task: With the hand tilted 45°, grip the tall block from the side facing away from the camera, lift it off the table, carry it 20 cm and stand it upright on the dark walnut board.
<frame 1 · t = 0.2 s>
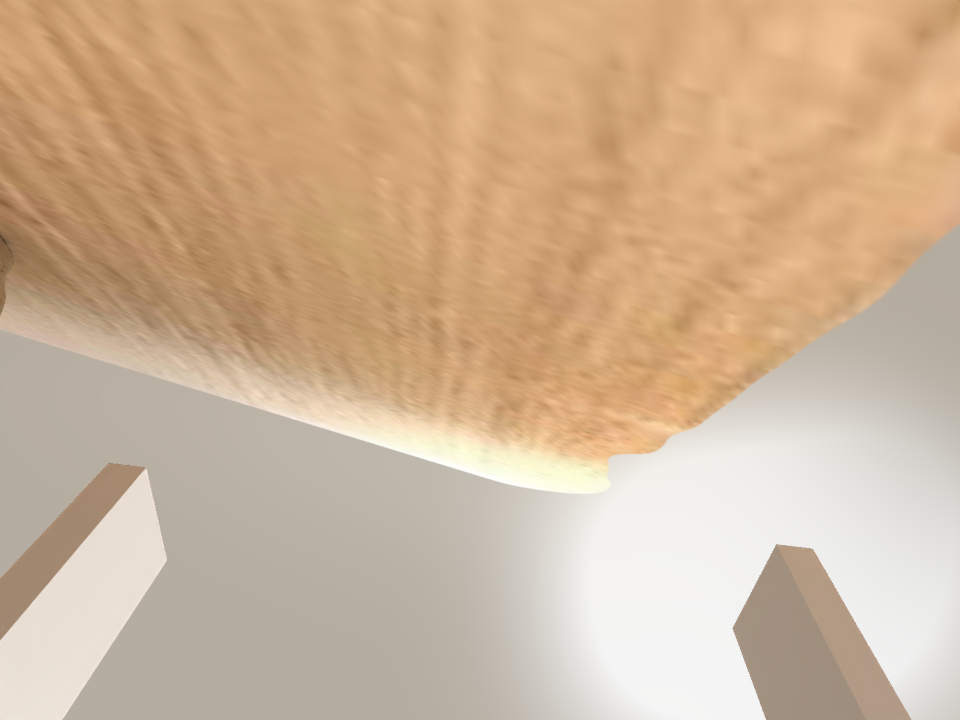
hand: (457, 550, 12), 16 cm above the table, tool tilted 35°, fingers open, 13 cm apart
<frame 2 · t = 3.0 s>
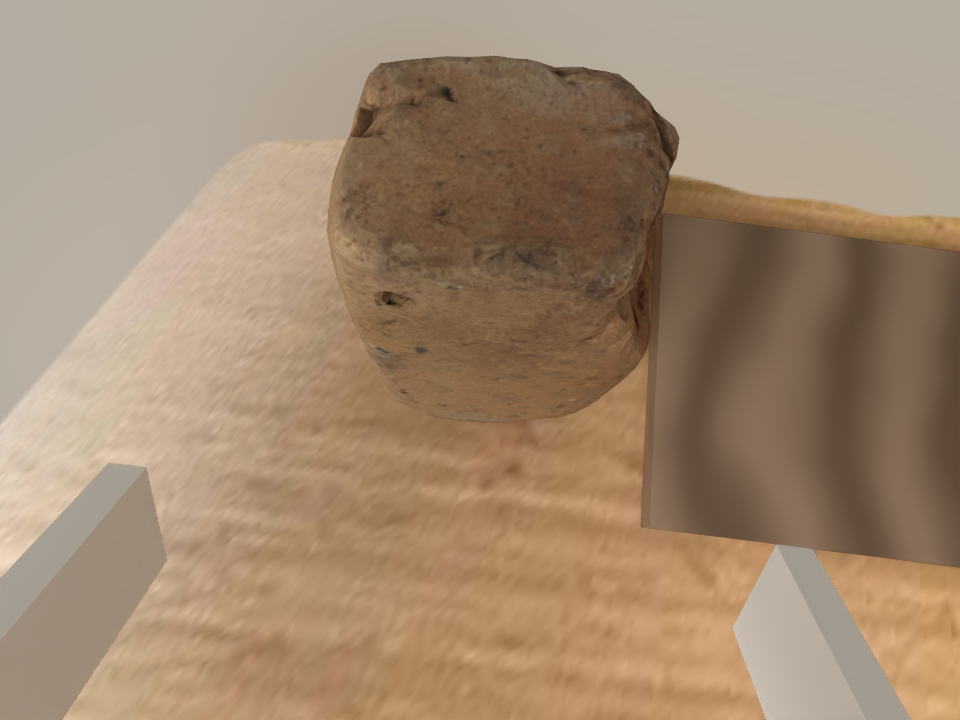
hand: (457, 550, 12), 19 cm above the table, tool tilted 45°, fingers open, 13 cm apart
block: (491, 363, 33), on the table
walnut board: (837, 389, 33), on the table
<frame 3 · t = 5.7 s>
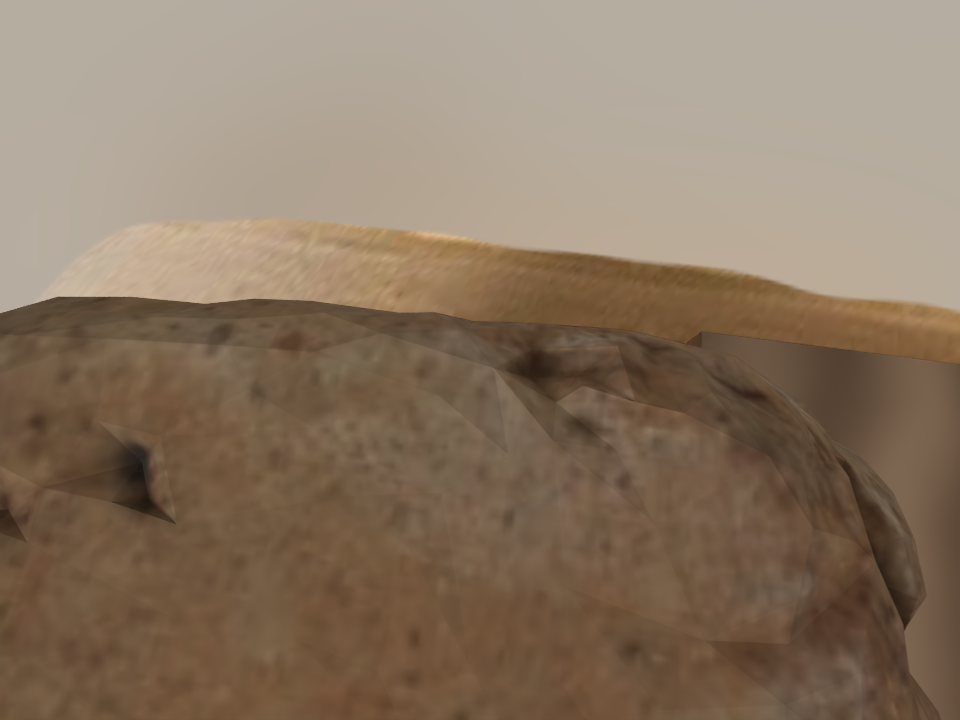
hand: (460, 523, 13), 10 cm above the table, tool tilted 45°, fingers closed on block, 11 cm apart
block: (453, 556, 23), on the table, touching gripper
walnut board: (955, 591, 23), on the table
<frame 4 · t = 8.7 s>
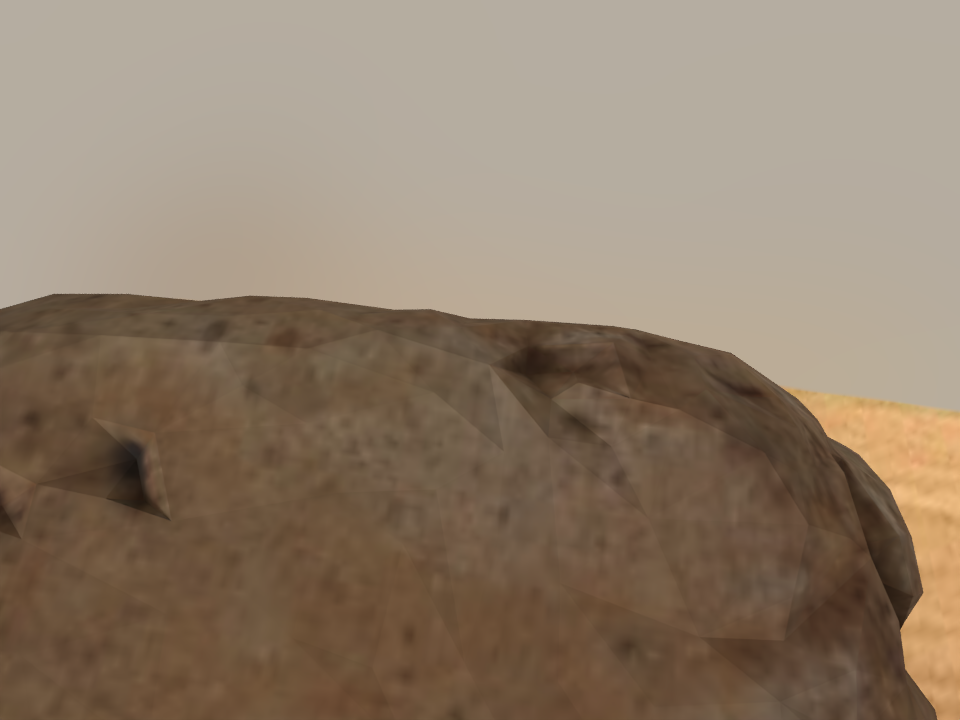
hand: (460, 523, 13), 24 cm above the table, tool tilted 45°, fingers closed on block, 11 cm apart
block: (452, 556, 23), point 13 cm above the table, touching gripper
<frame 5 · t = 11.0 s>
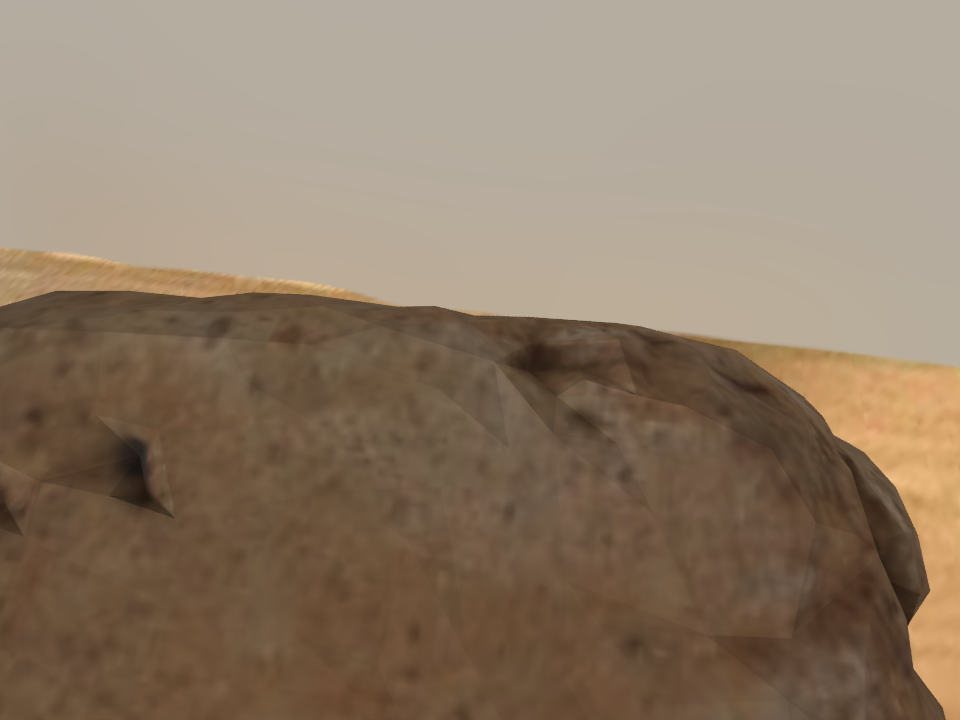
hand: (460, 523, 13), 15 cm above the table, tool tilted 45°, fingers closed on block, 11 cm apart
block: (453, 555, 23), point 5 cm above the table, touching gripper
when the fingers open (13 cm above the table, at t = 12.0 s): block drops 1 cm, resting on walnut board.
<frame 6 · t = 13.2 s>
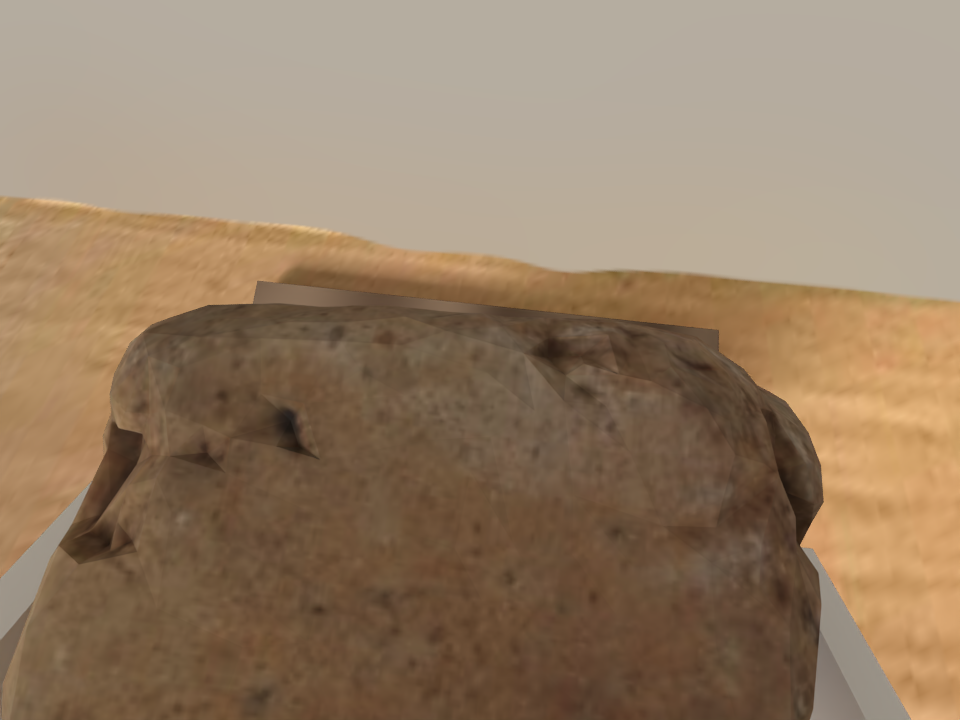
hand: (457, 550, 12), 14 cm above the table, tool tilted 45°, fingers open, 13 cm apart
block: (472, 503, 25), point 2 cm above the table, touching walnut board
walnut board: (470, 500, 27), on the table
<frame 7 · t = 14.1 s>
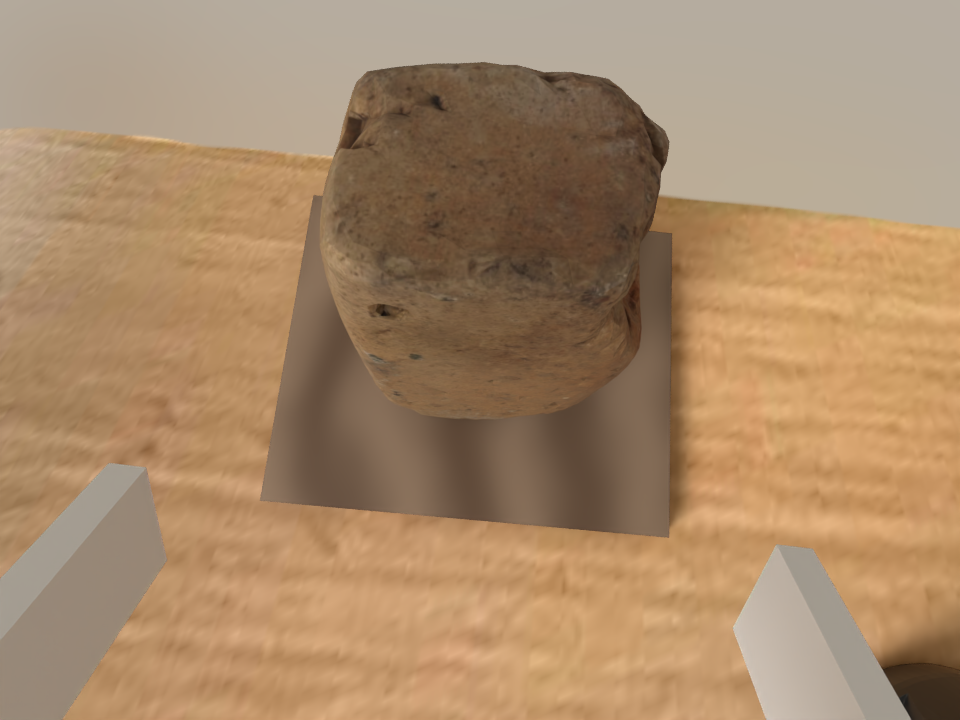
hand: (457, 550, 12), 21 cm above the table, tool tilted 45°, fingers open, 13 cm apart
block: (482, 360, 33), point 1 cm above the table, touching walnut board
walnut board: (480, 363, 35), on the table
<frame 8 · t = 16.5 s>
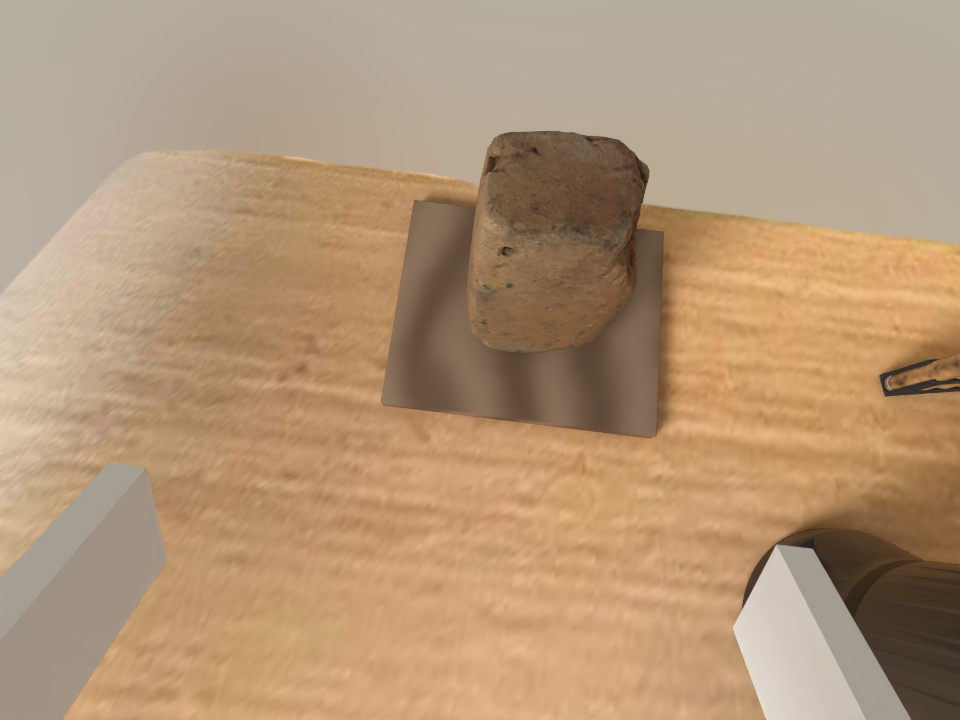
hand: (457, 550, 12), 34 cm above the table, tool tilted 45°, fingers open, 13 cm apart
ammunition clip: (938, 382, 50), on the table
block: (530, 314, 48), point 1 cm above the table, touching walnut board
walnut board: (527, 318, 50), on the table
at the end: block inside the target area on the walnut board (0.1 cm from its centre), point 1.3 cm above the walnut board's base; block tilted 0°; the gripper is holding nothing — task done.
